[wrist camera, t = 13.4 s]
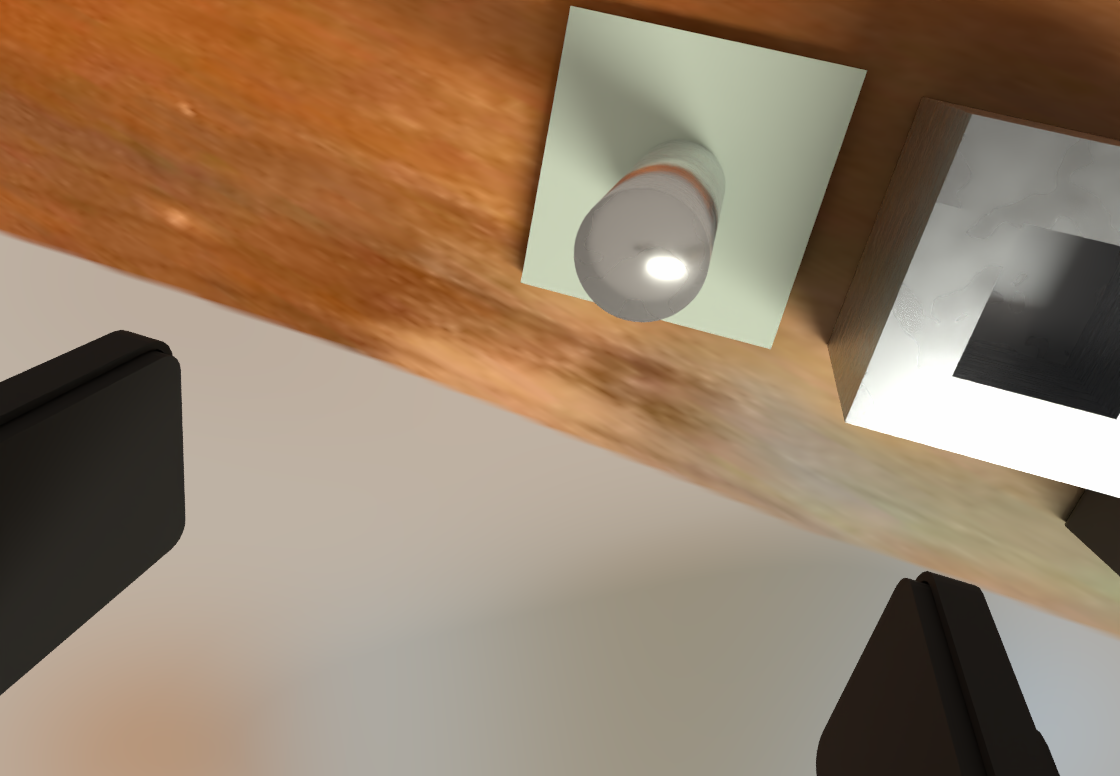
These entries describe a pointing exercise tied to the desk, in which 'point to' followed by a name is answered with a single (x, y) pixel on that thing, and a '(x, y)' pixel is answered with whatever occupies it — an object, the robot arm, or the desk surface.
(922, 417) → the chuck block
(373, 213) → the desk surface
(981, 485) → the desk surface
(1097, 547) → the phone stand
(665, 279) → the grey metal cylinder
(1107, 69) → the desk surface
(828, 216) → the desk surface
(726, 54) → the mat
